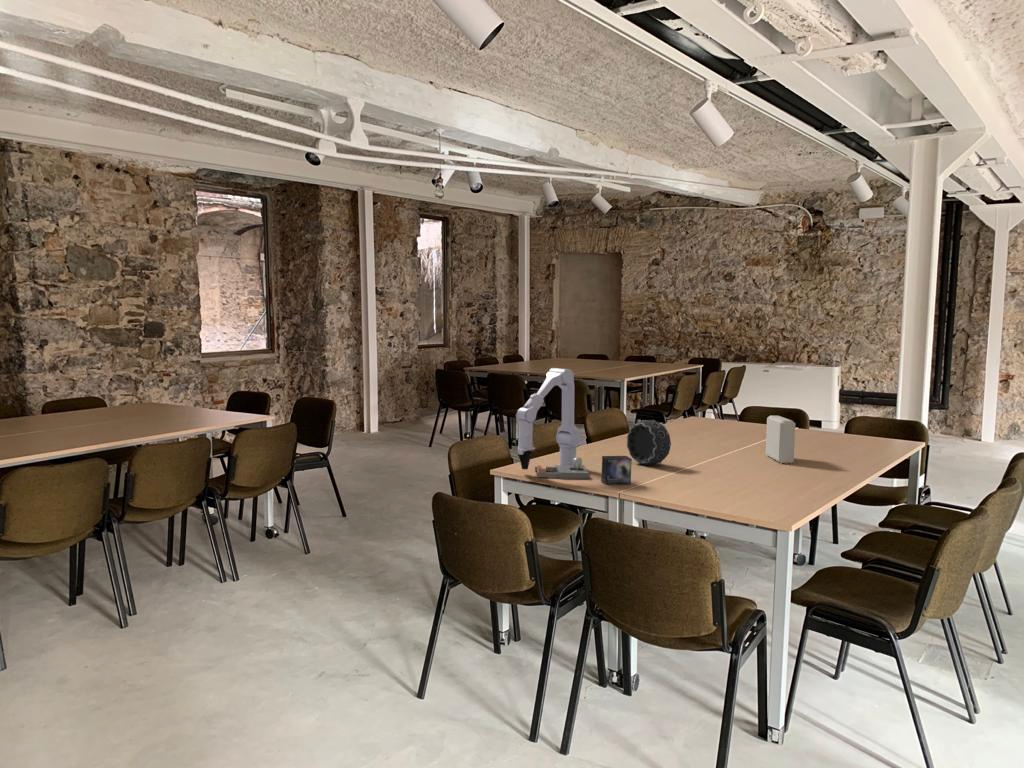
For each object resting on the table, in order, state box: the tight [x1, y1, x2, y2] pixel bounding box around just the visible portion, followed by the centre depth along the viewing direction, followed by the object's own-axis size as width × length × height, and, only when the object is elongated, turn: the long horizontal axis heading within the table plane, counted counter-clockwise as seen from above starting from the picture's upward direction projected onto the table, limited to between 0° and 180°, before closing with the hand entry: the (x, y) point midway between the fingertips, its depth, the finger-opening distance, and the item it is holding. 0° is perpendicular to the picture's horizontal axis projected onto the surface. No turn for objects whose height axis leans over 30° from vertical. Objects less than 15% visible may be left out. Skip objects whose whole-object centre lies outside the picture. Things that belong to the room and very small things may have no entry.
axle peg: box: [573, 457, 583, 470], centre depth 312 cm, size 4×4×7 cm
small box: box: [600, 455, 633, 485], centre depth 297 cm, size 11×6×10 cm, turn 101°
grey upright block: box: [765, 415, 796, 464], centre depth 354 cm, size 21×8×20 cm, turn 179°
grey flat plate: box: [534, 464, 590, 480], centre depth 312 cm, size 16×21×2 cm
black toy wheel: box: [626, 419, 672, 466], centre depth 337 cm, size 11×20×20 cm, turn 35°
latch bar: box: [536, 463, 547, 473], centre depth 311 cm, size 10×3×4 cm, turn 1°
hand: (524, 469), depth 311 cm, fingers closed
